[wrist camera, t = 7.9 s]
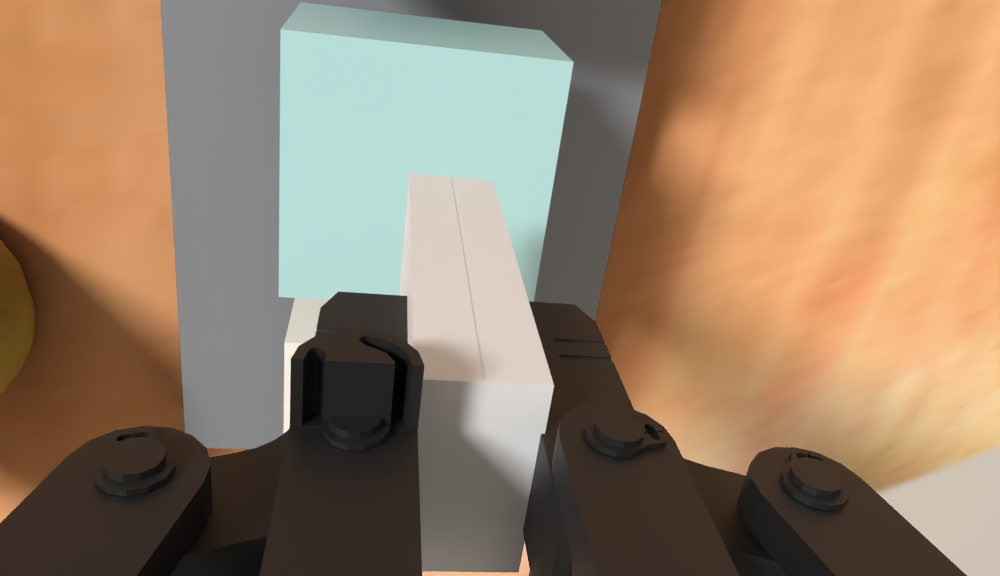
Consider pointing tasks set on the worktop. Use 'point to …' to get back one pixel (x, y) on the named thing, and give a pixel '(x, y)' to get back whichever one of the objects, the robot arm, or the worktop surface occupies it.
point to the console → (256, 165)
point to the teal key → (407, 137)
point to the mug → (14, 318)
